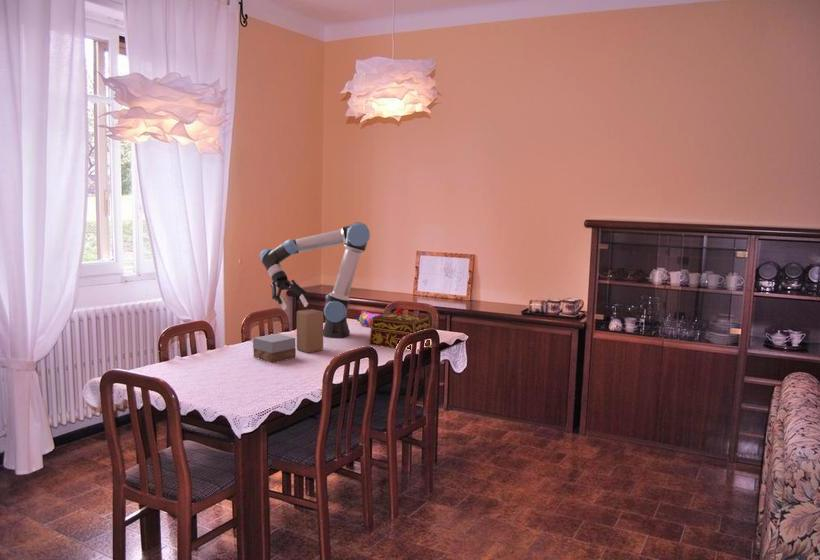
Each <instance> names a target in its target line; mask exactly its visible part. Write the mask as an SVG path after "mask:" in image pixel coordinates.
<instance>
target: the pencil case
mask: <svg viewBox="0 0 820 560" xmlns="http://www.w3.org/2000/svg"><path fill="white" fill-rule="evenodd" d="M379 315H381V314H380V313H372V312H369V311H365V310H364V309H363V310H360V315H359V317H357V318H356V319H357V320H356V321H357V322H359V324H360V325H361V326H363V325H365V326H364V327H367V326H369V327H368V328H371V324H372V317H375V316H379Z"/></svg>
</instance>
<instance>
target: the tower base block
mask: <svg viewBox="0 0 820 560" xmlns="http://www.w3.org/2000/svg"><path fill="white" fill-rule="evenodd" d="M296 351H297V347H295V348H294V349H289V350H284V351H280V352H275V353H270V352H266V351H262V350H258V349H254V348H253V358H254V357H256V358H259V359H258V360H260V359H262V360H261V361H263V360H265V361H264V362H267V361H268V362H267V363H270V362H271V364H273V362H274V363H278V362H277V361H279V362H282V360H283V361H287V360H286V359H288V360H291V358H292V359H296V358H295V357H297V355H296ZM256 358H255V359H256Z"/></svg>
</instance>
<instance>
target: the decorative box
mask: <svg viewBox="0 0 820 560" xmlns="http://www.w3.org/2000/svg"><path fill="white" fill-rule="evenodd" d="M405 314H406V313H404V314H398V313H397V314H396V312H386V313H383V314H380V315H379V316H375V317H372V324H371V327H370V333H369V342H368V345H369V346H374V345H375V347H381V346H383V348H387V347H389V348H388V349H395V348H396V346H397V344H398V343H399V341H400V340H401V339H402V338H403V337H404V336H406V335H408V334H410V333H414V332H417V331H420V330H424V329H430V330H431V321H430V320H431V319H430V317H428V316H426V317H425V316H422V315H421V316H419V315H413V314H412V315H411V314H406V315H405ZM429 345H430V340H427V341H426V343H425V346H428V347H430V346H431V345H430V346H429ZM407 349H410V350H411V345H410V346H409V347H407Z"/></svg>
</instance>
